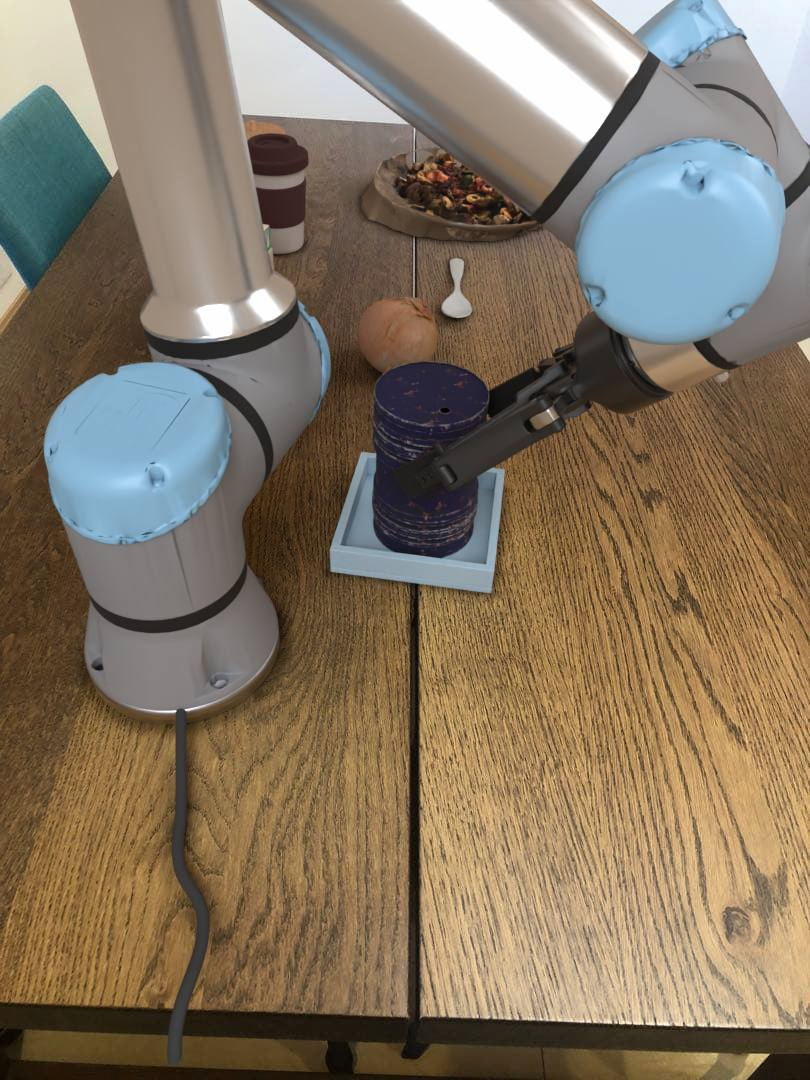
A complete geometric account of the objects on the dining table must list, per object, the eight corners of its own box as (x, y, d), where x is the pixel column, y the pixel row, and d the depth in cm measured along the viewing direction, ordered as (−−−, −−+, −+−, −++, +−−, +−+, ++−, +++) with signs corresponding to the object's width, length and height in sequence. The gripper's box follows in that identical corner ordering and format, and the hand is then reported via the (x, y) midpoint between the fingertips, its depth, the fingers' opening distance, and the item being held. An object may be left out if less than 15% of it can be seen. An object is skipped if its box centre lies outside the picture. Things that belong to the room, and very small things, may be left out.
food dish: (563, 181, 150) (572, 137, 145) (570, 262, 126) (581, 212, 121) (375, 161, 151) (376, 116, 146) (347, 237, 127) (347, 187, 122)
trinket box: (216, 184, 141) (209, 126, 135) (243, 164, 148) (237, 107, 142) (273, 193, 139) (269, 134, 132) (297, 172, 146) (294, 115, 140)
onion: (421, 381, 103) (460, 312, 98) (402, 403, 95) (444, 328, 90) (357, 342, 103) (392, 270, 98) (332, 360, 95) (370, 283, 90)
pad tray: (490, 593, 73) (494, 571, 71) (330, 571, 74) (329, 549, 72) (501, 490, 83) (505, 468, 81) (361, 472, 85) (361, 451, 83)
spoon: (440, 326, 108) (441, 315, 106) (443, 258, 123) (443, 247, 121) (471, 328, 107) (472, 316, 106) (470, 260, 122) (471, 249, 121)
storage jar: (358, 503, 80) (356, 370, 70) (450, 483, 83) (461, 352, 73) (392, 571, 73) (396, 436, 63) (491, 547, 76) (511, 413, 66)
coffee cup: (320, 254, 122) (316, 148, 112) (255, 263, 119) (245, 155, 109) (301, 228, 129) (296, 126, 118) (239, 236, 126) (228, 132, 116)
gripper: (602, 485, 47) (387, 561, 63) (740, 318, 62) (538, 414, 79) (534, 375, 46) (331, 482, 62) (692, 232, 61) (496, 348, 77)
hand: (446, 444), depth 70 cm, fingers open, 13 cm apart
